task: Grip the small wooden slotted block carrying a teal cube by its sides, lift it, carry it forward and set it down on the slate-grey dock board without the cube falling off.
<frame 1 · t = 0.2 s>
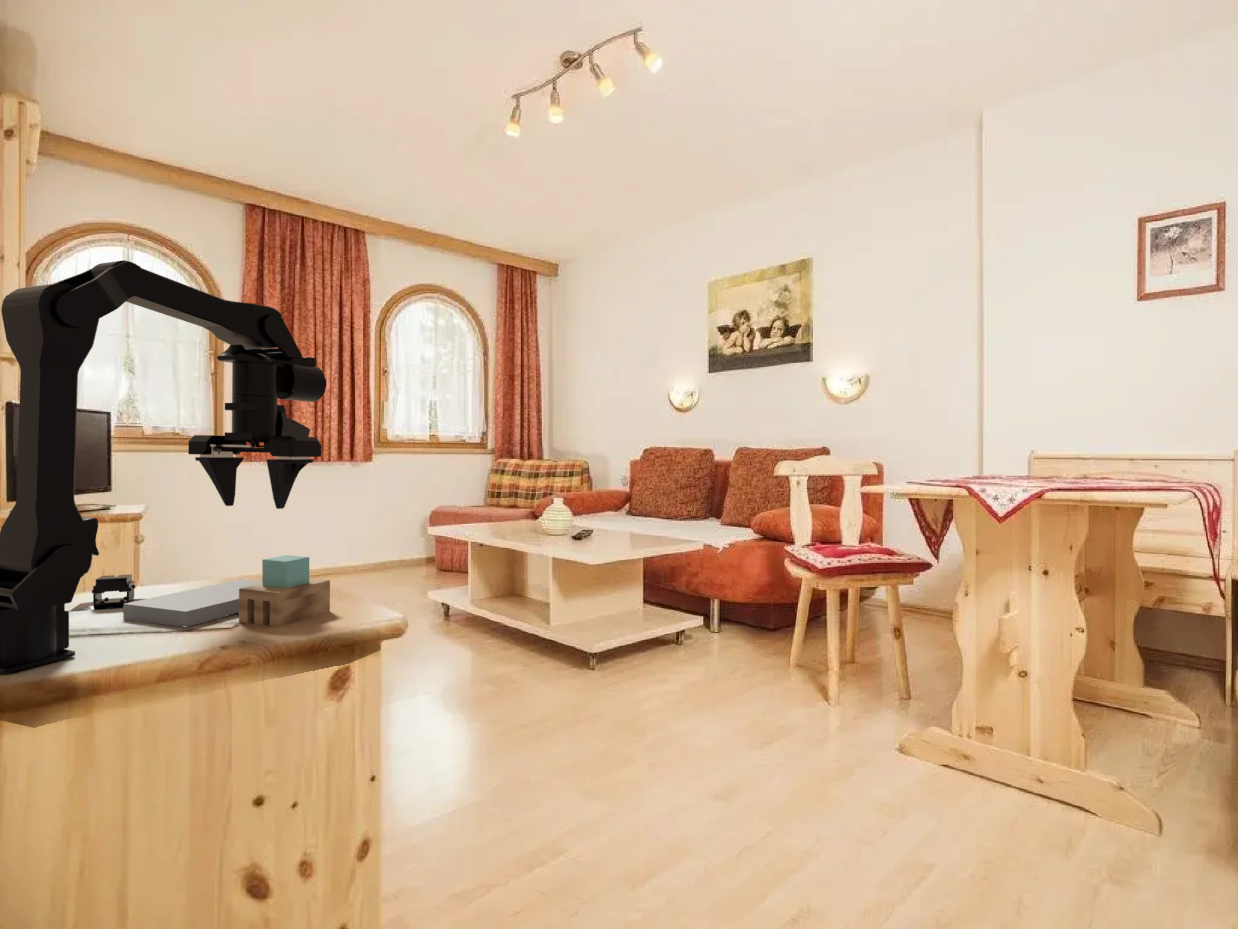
hand: (254, 507, 96), 14 cm above the table, fingers open, 9 cm apart
wooden slotted block: (286, 617, 92), on the table, touching teal cube
black open frame block: (114, 610, 97), on the table
dock: (216, 607, 96), on the table
teal cube: (286, 584, 91), point 4 cm above the table, touching wooden slotted block
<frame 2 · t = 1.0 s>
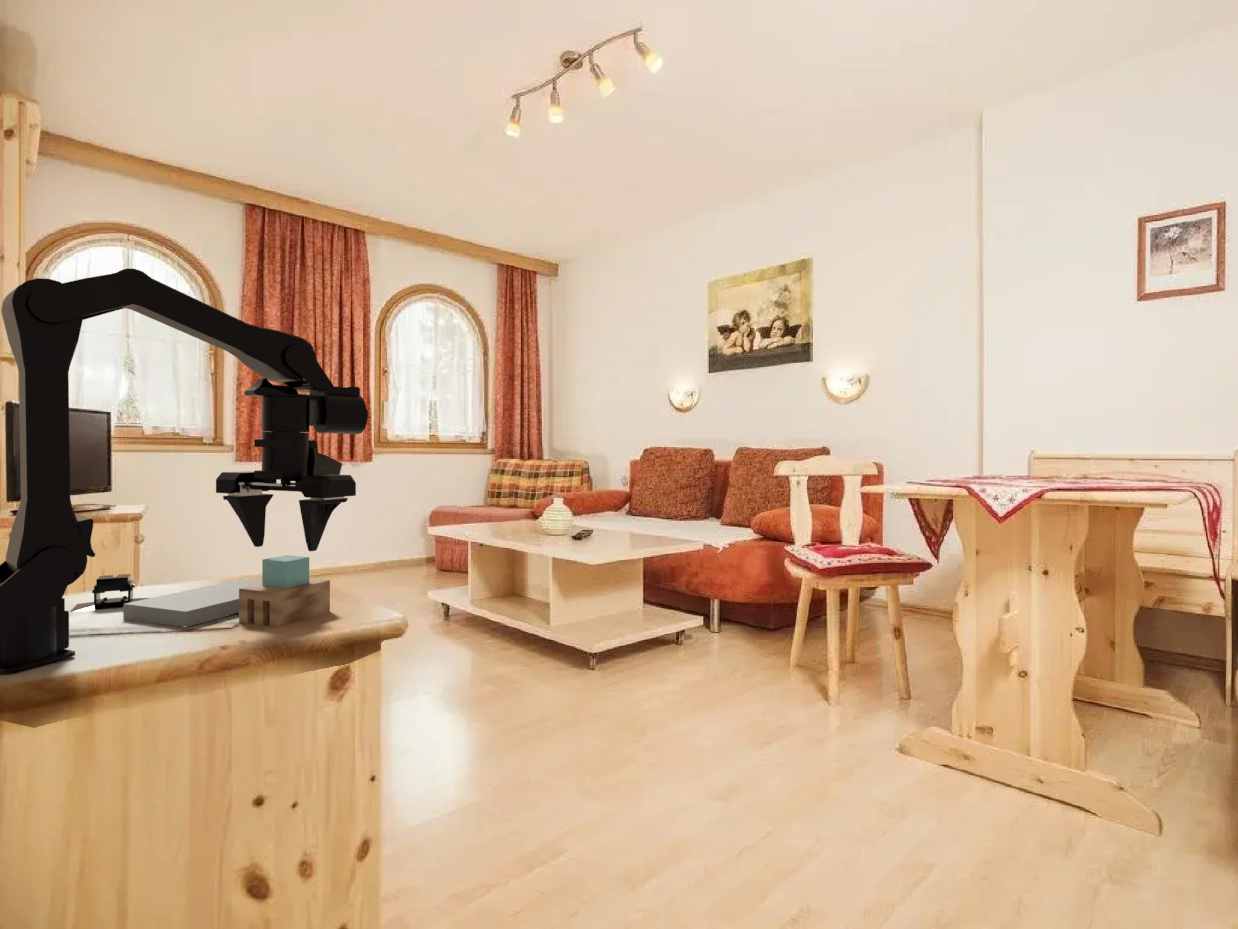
hand: (285, 548, 91), 9 cm above the table, fingers open, 9 cm apart
wooden slotted block: (286, 617, 92), on the table
teal cube: (286, 584, 91), point 4 cm above the table
everything else where it was.
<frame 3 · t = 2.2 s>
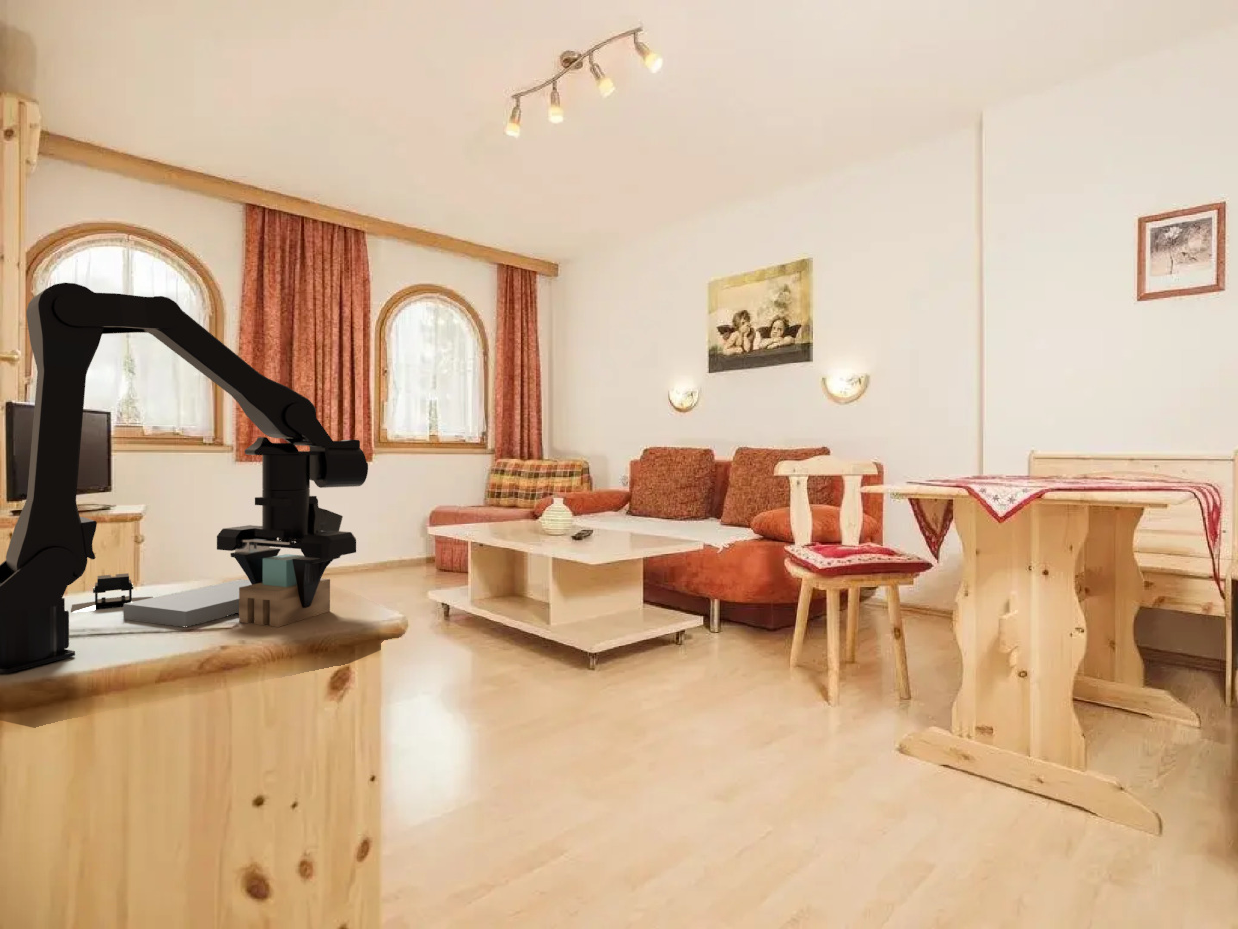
hand: (286, 605, 92), 2 cm above the table, fingers closed on wooden slotted block, 6 cm apart
wooden slotted block: (286, 616, 92), on the table, touching teal cube, gripper
teal cube: (286, 583, 91), point 4 cm above the table, touching wooden slotted block
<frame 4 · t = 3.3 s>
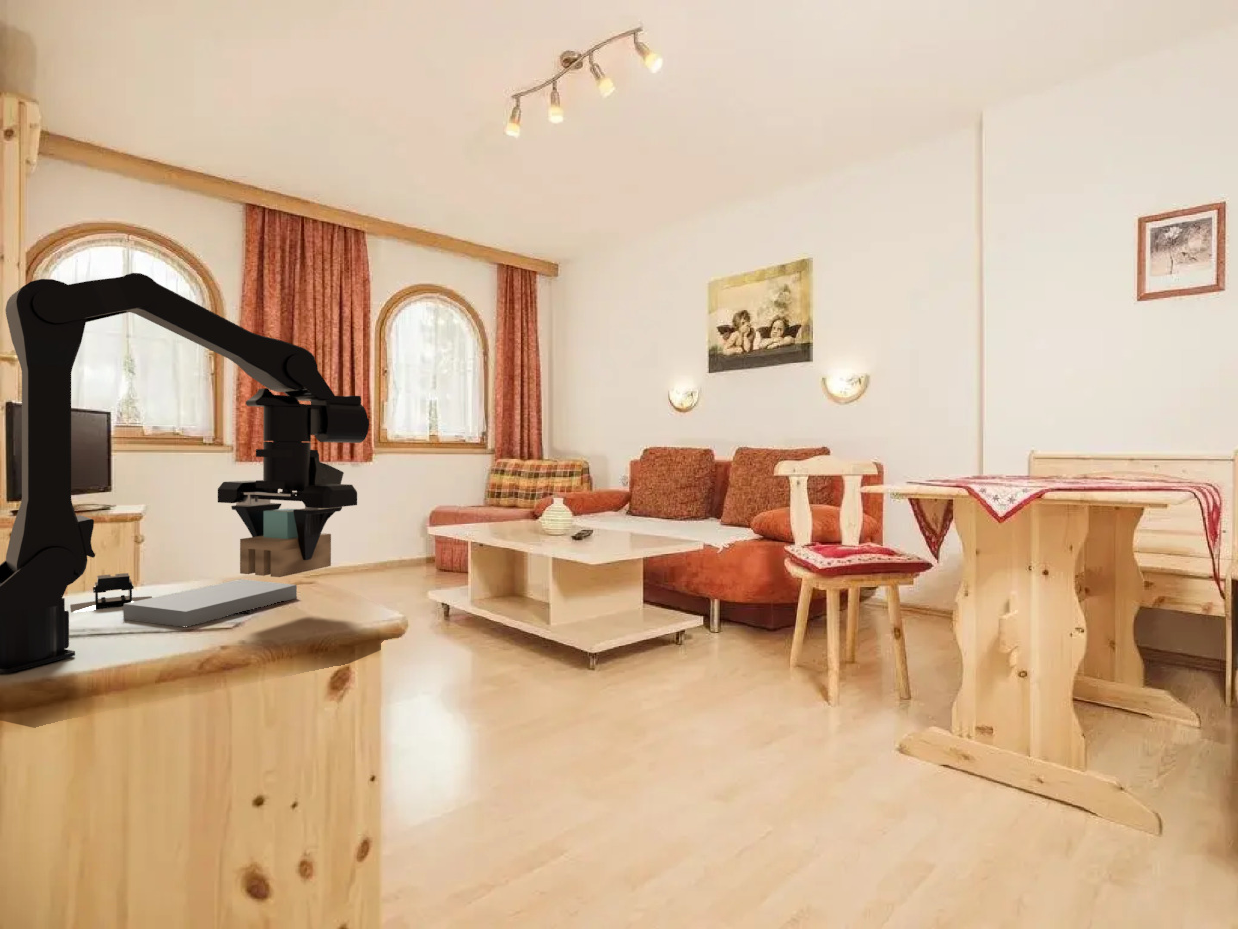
hand: (286, 558, 91), 8 cm above the table, fingers closed on wooden slotted block, 6 cm apart
wooden slotted block: (287, 569, 91), point 6 cm above the table, touching teal cube, gripper
teal cube: (287, 536, 91), point 11 cm above the table, touching wooden slotted block
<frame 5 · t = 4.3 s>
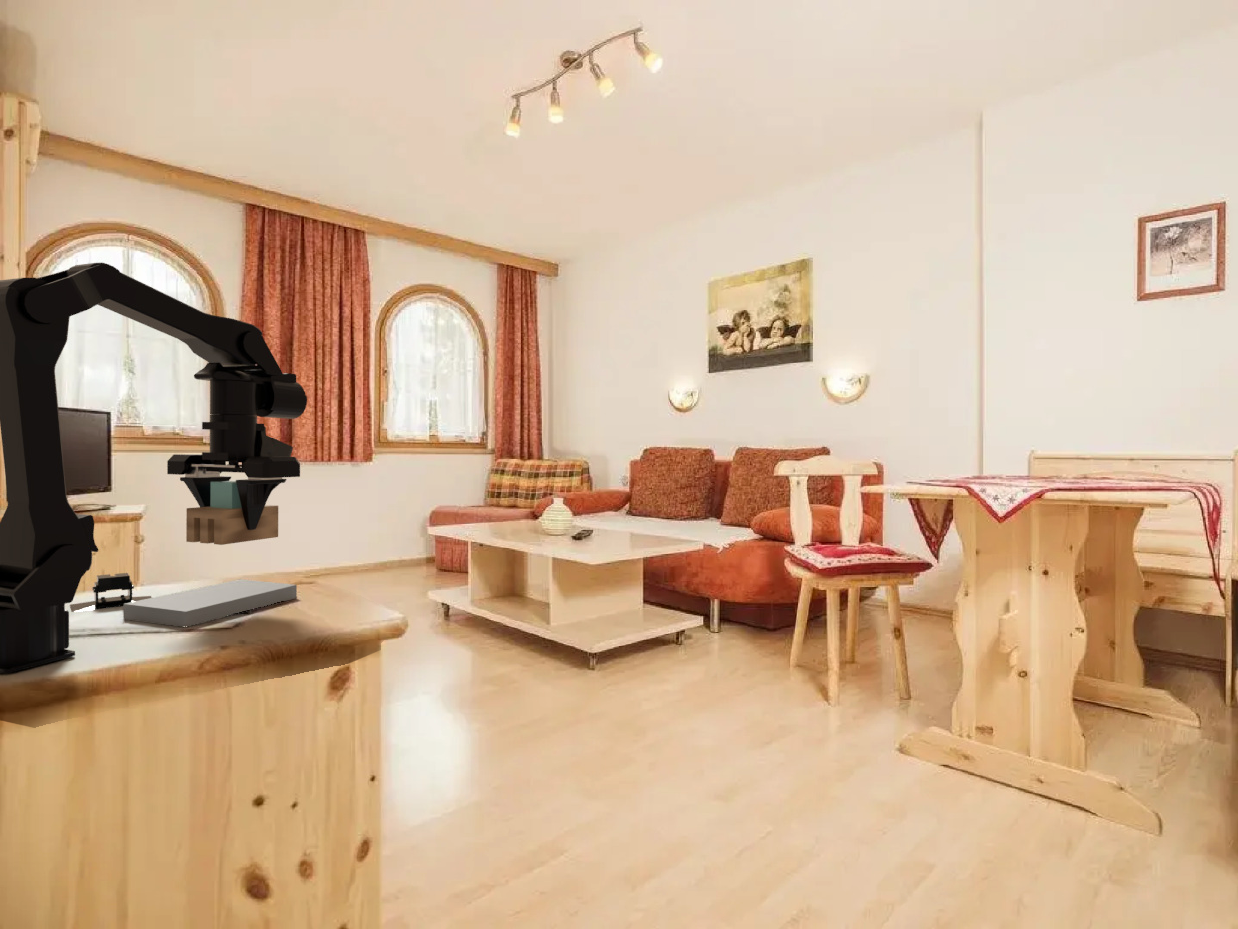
hand: (233, 528, 94), 11 cm above the table, fingers closed on wooden slotted block, 6 cm apart
wooden slotted block: (233, 539, 94), point 10 cm above the table, touching teal cube, gripper
teal cube: (234, 506, 94), point 14 cm above the table, touching wooden slotted block
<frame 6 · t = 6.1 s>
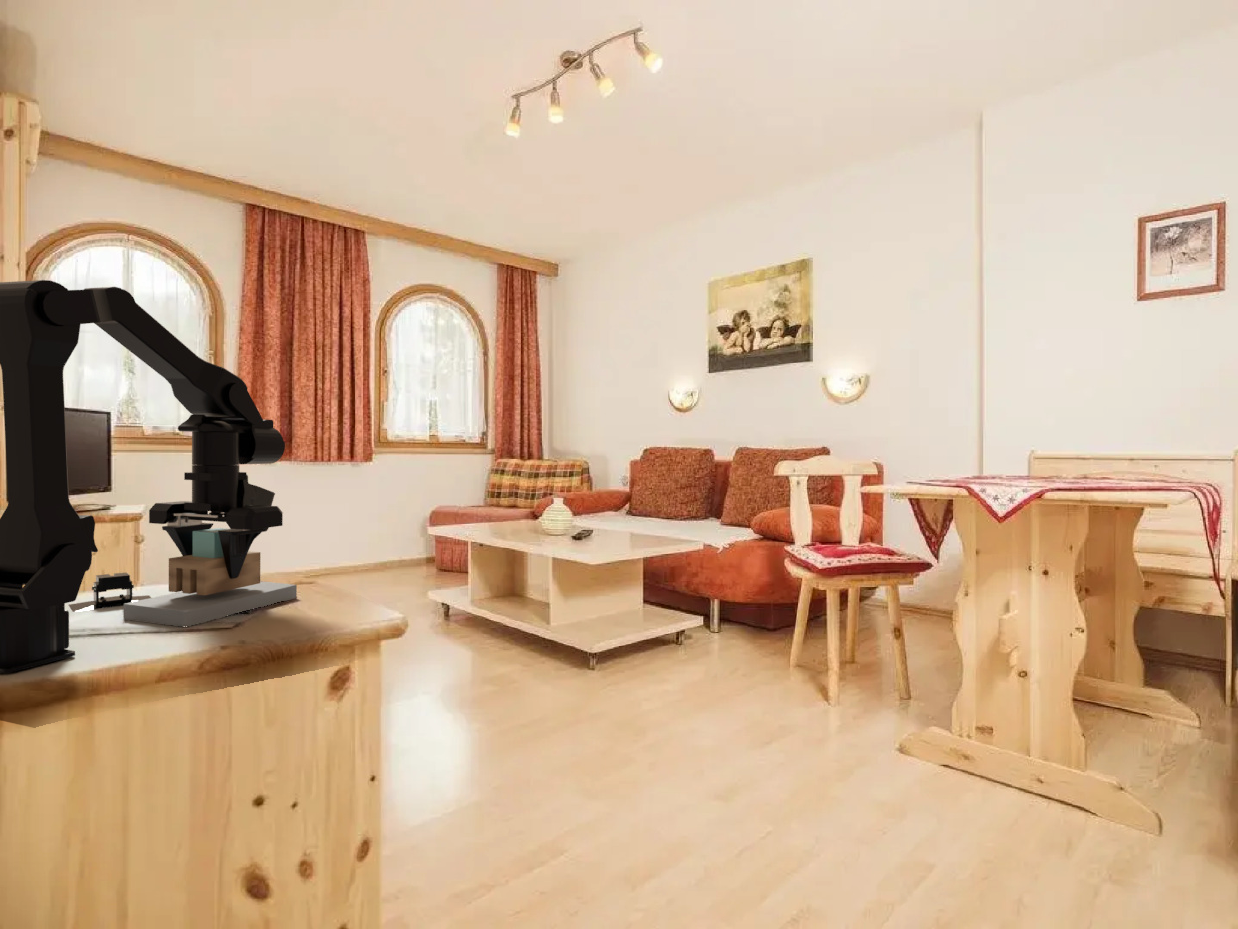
hand: (215, 576, 95), 4 cm above the table, fingers closed on wooden slotted block, 6 cm apart
wooden slotted block: (216, 587, 96), point 3 cm above the table, touching teal cube, gripper
teal cube: (216, 555, 95), point 7 cm above the table, touching wooden slotted block
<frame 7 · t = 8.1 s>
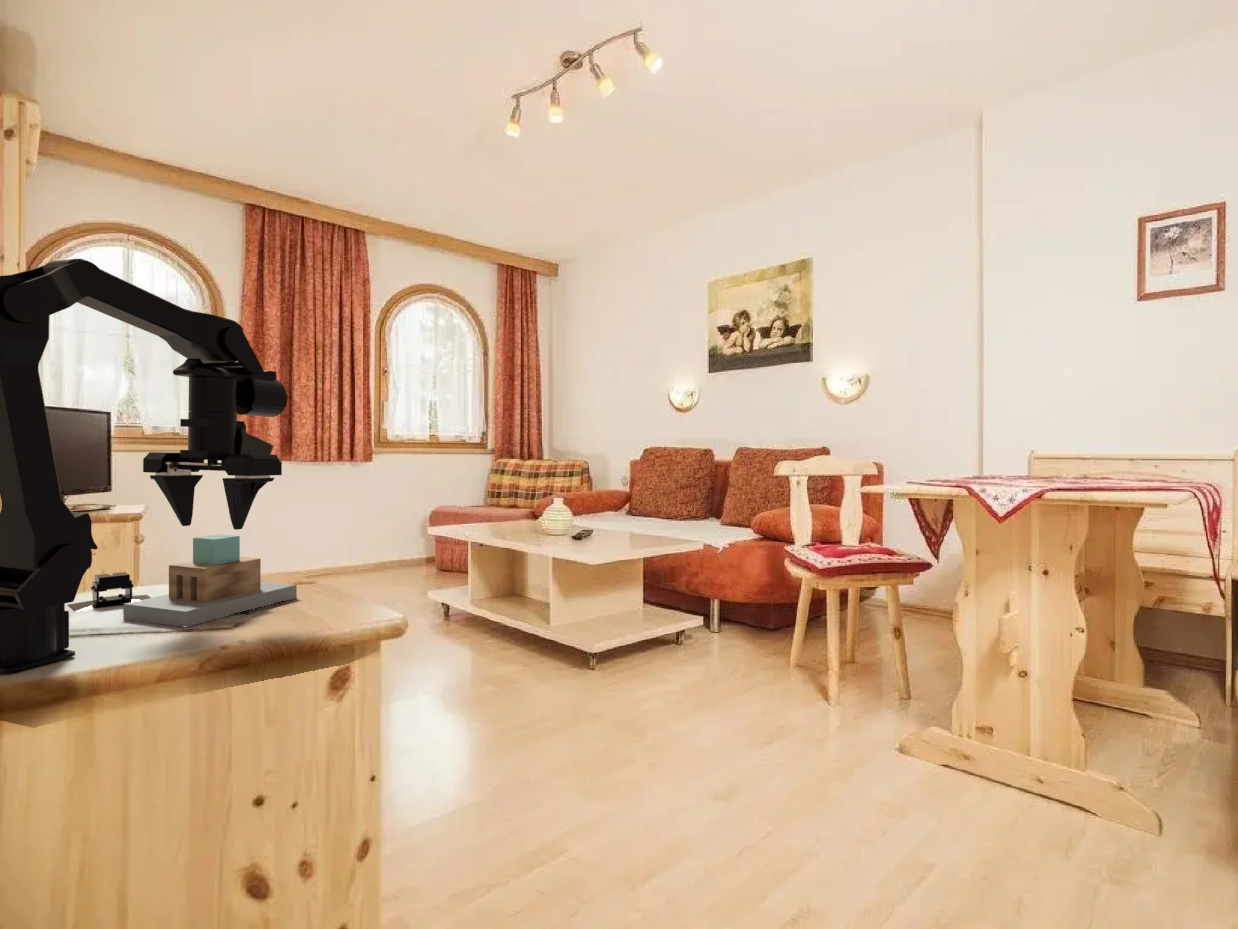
hand: (211, 527, 93), 12 cm above the table, fingers open, 9 cm apart
wooden slotted block: (216, 593, 96), point 2 cm above the table, touching teal cube, dock
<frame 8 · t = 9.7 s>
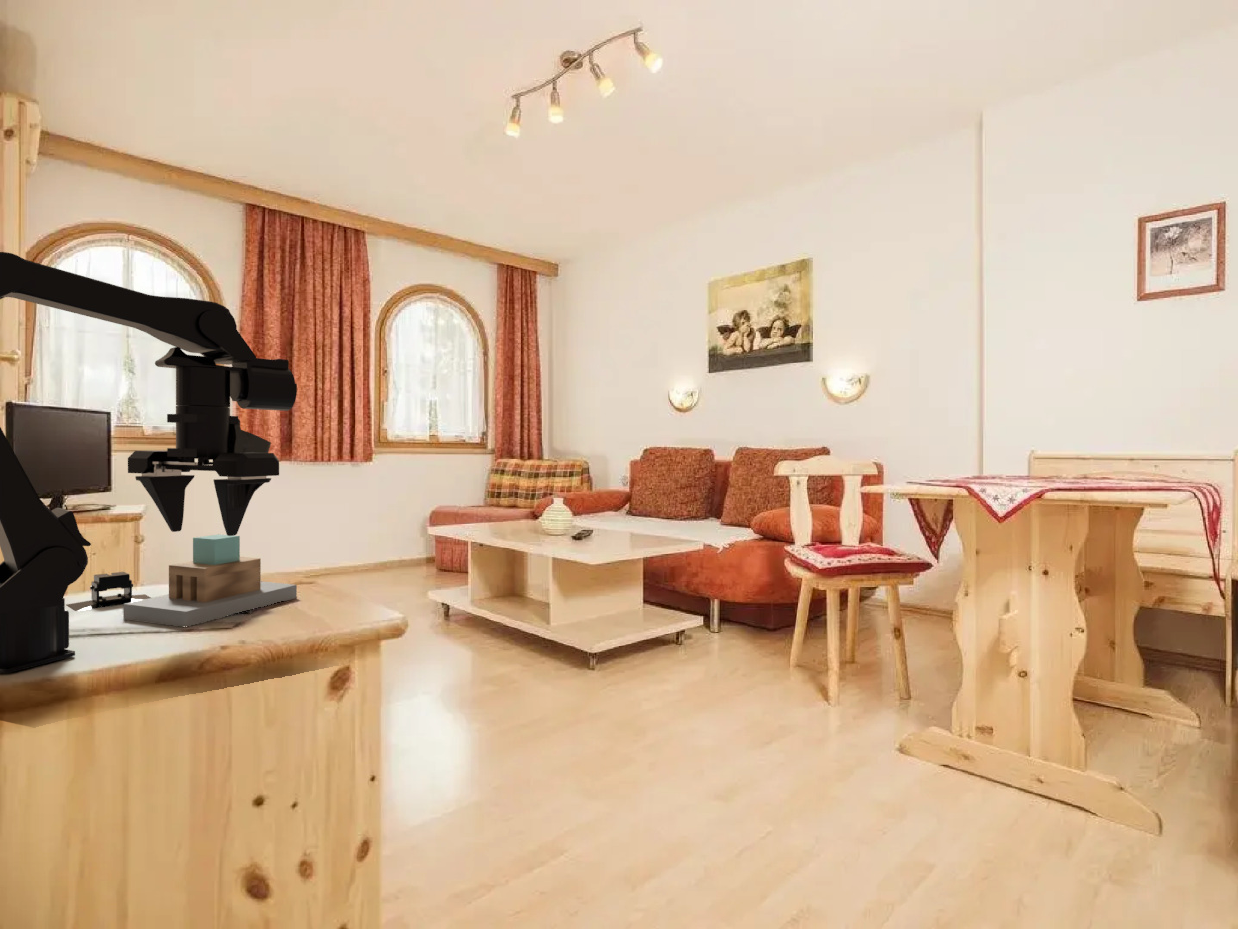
hand: (203, 533, 84), 12 cm above the table, fingers open, 9 cm apart
at the end: wooden slotted block inside the target area on the dock (0.0 cm from its centre), point 2.0 cm above the dock's base; teal cube 0.1 cm off-centre on the wooden slotted block, point 4.5 cm above the wooden slotted block's base; the gripper is holding nothing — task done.
